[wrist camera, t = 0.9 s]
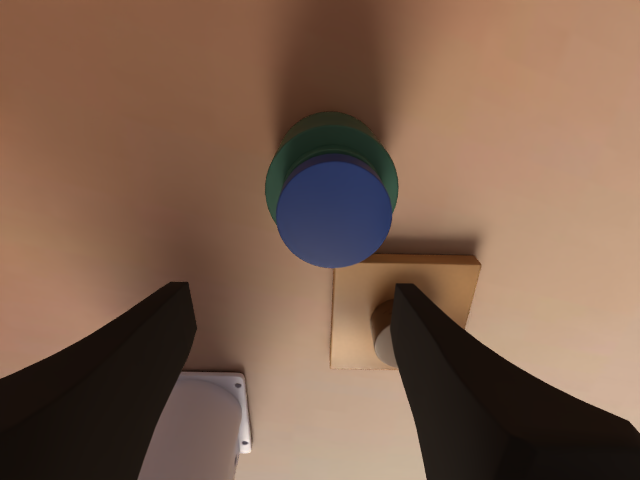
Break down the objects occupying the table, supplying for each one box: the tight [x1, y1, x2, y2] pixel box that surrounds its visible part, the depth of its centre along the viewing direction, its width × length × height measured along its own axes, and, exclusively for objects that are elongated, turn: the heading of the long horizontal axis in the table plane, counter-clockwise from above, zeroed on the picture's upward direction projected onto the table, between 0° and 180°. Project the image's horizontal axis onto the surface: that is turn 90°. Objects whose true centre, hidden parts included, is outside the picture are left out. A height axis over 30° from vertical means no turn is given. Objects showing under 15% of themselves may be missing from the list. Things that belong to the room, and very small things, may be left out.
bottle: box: [265, 112, 398, 268], centre depth 16 cm, size 6×6×7 cm
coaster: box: [330, 254, 481, 370], centre depth 24 cm, size 9×9×1 cm
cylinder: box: [370, 299, 398, 368], centre depth 22 cm, size 4×4×2 cm
